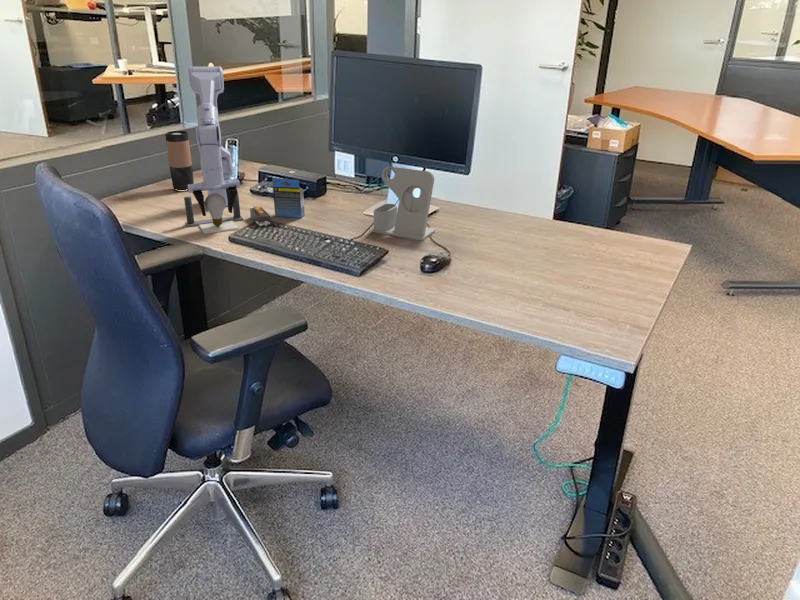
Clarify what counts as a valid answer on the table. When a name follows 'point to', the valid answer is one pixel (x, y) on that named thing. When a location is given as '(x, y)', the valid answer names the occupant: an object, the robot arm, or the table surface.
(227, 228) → the mat
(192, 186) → the robot arm
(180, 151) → the travel mug
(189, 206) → the cable posts
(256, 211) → the terminal block
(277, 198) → the blue retail box
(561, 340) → the table surface
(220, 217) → the light bulb
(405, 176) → the phone holder
